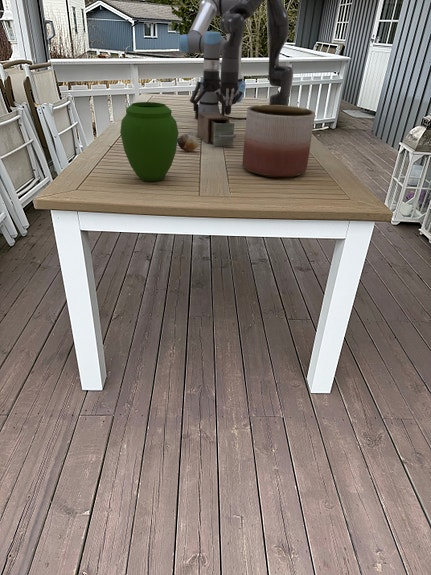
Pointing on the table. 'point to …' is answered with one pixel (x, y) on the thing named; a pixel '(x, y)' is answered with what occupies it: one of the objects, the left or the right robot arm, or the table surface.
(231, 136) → the drawer
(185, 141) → the seashell
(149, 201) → the table surface
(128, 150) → the vase
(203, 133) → the long brown box
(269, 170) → the planter
